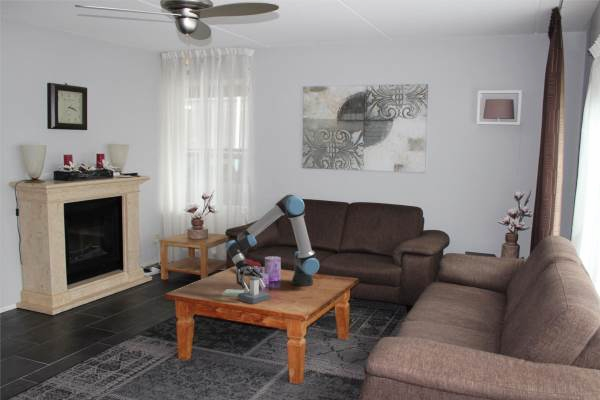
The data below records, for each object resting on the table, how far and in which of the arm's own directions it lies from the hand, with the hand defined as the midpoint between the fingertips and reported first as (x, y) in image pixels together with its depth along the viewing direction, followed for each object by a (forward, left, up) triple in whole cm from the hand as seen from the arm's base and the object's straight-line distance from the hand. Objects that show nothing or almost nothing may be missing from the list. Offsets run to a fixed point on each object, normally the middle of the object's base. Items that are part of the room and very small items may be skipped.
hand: (256, 290), depth 327 cm
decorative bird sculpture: (+22, -65, -7) cm, 69 cm away
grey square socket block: (+2, -1, -6) cm, 7 cm away
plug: (+2, -1, -6) cm, 7 cm away
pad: (+18, -11, -6) cm, 22 cm away
